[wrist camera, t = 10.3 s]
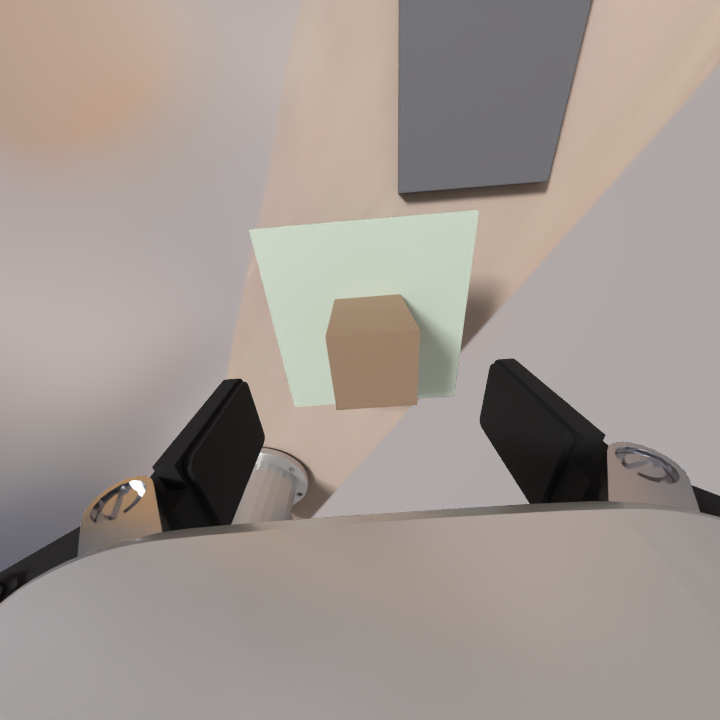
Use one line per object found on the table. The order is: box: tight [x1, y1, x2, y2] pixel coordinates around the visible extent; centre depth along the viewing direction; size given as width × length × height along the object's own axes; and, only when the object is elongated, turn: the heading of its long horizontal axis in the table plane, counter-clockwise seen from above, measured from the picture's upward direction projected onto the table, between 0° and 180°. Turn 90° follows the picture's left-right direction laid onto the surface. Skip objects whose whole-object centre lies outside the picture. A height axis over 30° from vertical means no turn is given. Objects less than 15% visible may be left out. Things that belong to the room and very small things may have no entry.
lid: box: [249, 210, 479, 410], centre depth 13 cm, size 11×11×6 cm
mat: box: [398, 0, 591, 194], centre depth 17 cm, size 11×11×1 cm
